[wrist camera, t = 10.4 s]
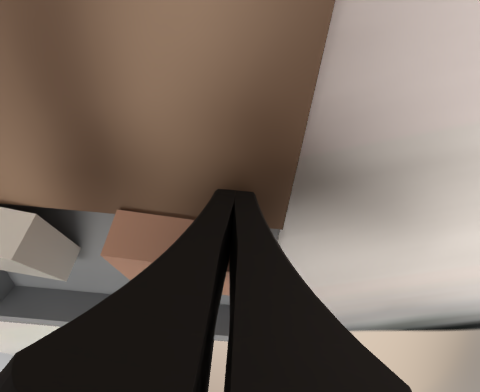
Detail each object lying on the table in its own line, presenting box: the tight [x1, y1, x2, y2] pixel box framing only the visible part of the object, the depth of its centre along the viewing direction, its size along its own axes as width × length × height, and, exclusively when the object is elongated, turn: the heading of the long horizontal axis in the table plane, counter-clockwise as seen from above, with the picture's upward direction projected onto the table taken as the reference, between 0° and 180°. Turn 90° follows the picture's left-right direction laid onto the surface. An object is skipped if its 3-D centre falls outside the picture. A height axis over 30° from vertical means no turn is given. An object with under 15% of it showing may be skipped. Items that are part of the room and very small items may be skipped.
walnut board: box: [0, 0, 335, 230], centre depth 9 cm, size 16×10×2 cm, turn 85°
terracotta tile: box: [100, 210, 231, 296], centre depth 12 cm, size 5×5×2 cm
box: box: [0, 203, 280, 341], centre depth 14 cm, size 16×9×2 cm, turn 85°
